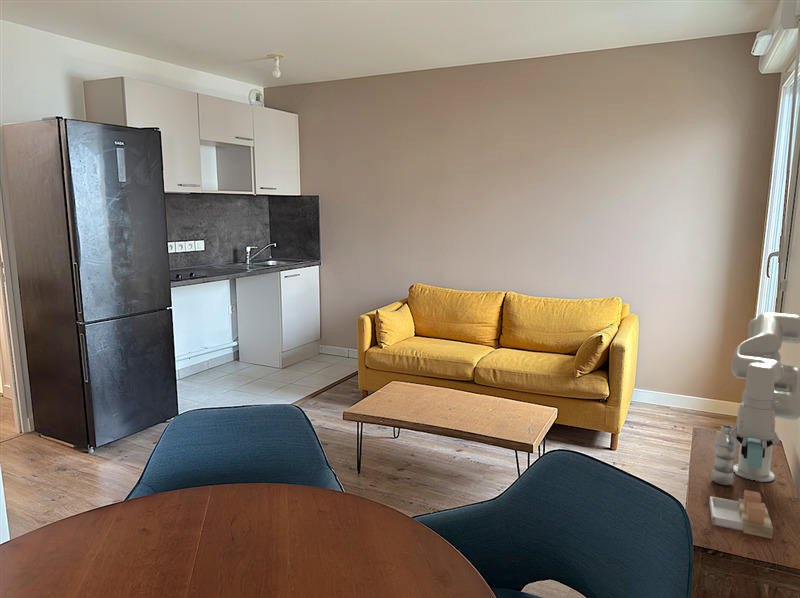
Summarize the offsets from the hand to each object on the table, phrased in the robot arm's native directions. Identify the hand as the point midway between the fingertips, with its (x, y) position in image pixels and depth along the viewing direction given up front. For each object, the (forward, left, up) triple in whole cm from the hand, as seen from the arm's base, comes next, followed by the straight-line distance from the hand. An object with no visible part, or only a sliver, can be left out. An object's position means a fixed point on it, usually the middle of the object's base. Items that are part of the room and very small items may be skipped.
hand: (752, 457), depth 180 cm
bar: (0, 0, -1) cm, 1 cm away
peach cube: (+20, -1, -11) cm, 22 cm away
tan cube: (+12, -1, -11) cm, 16 cm away
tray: (+16, -8, -14) cm, 22 cm away
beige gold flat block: (+16, 0, -14) cm, 21 cm away
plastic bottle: (-9, -7, -14) cm, 18 cm away
